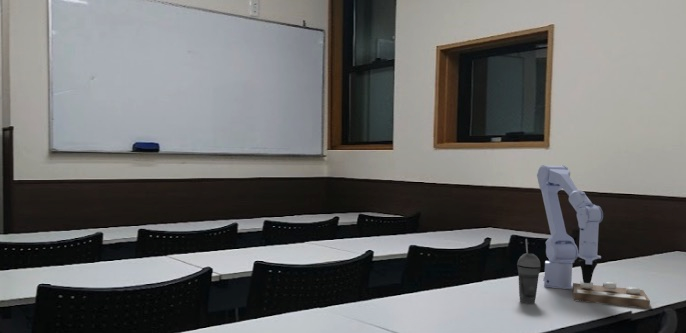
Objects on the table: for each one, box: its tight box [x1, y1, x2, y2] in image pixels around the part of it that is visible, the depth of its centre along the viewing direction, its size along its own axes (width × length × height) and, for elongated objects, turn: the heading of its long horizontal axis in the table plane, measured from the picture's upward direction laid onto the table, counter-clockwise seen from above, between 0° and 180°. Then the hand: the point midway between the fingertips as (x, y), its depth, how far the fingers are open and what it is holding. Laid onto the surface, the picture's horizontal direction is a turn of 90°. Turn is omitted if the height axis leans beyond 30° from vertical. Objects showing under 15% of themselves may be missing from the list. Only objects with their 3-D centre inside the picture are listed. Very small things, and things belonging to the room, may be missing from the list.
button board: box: [572, 282, 651, 310], centre depth 197 cm, size 22×16×3 cm
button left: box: [579, 280, 594, 289], centre depth 200 cm, size 4×4×2 cm
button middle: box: [602, 281, 617, 289], centre depth 197 cm, size 4×4×2 cm
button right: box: [625, 286, 641, 294], centre depth 195 cm, size 4×4×2 cm
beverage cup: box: [516, 238, 542, 305], centre depth 189 cm, size 7×7×20 cm
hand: (586, 282), depth 200 cm, fingers closed, pressing on button left
